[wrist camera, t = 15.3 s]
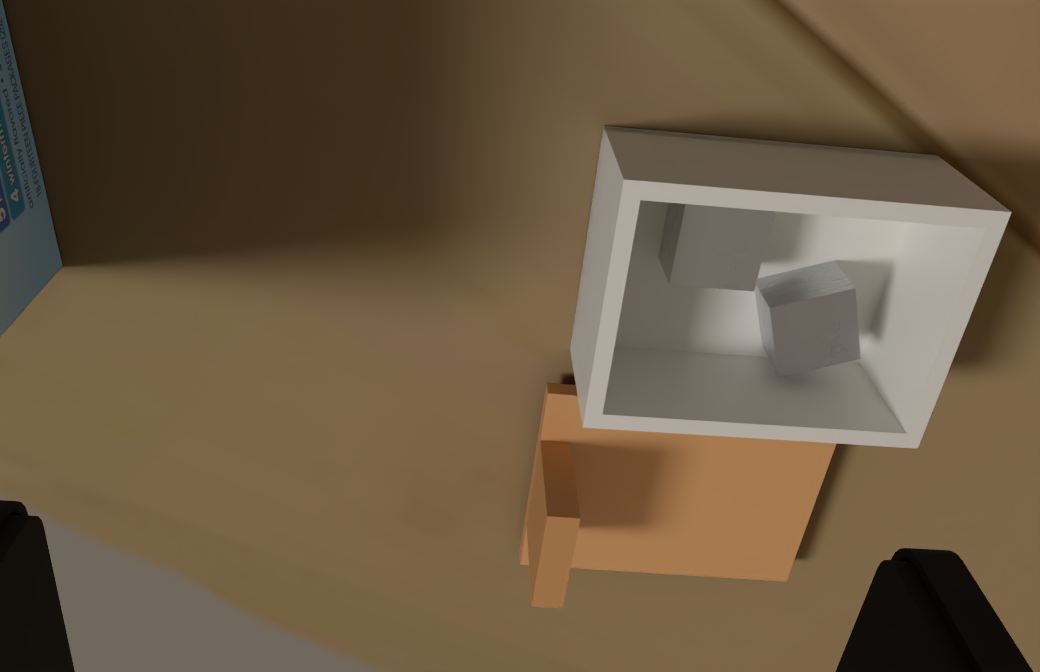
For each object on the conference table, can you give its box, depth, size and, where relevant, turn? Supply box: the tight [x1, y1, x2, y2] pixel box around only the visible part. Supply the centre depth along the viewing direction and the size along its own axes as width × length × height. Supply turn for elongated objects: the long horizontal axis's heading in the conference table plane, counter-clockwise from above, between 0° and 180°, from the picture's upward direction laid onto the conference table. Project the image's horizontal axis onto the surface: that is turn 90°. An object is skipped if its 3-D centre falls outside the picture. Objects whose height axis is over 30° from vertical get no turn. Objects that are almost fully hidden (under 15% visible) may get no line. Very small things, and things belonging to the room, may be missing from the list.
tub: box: [570, 126, 1012, 448], centre depth 42 cm, size 12×16×7 cm
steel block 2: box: [755, 260, 861, 377], centre depth 44 cm, size 4×4×3 cm
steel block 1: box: [658, 203, 775, 291], centre depth 42 cm, size 4×4×3 cm
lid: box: [520, 383, 837, 608], centre depth 49 cm, size 12×16×8 cm
